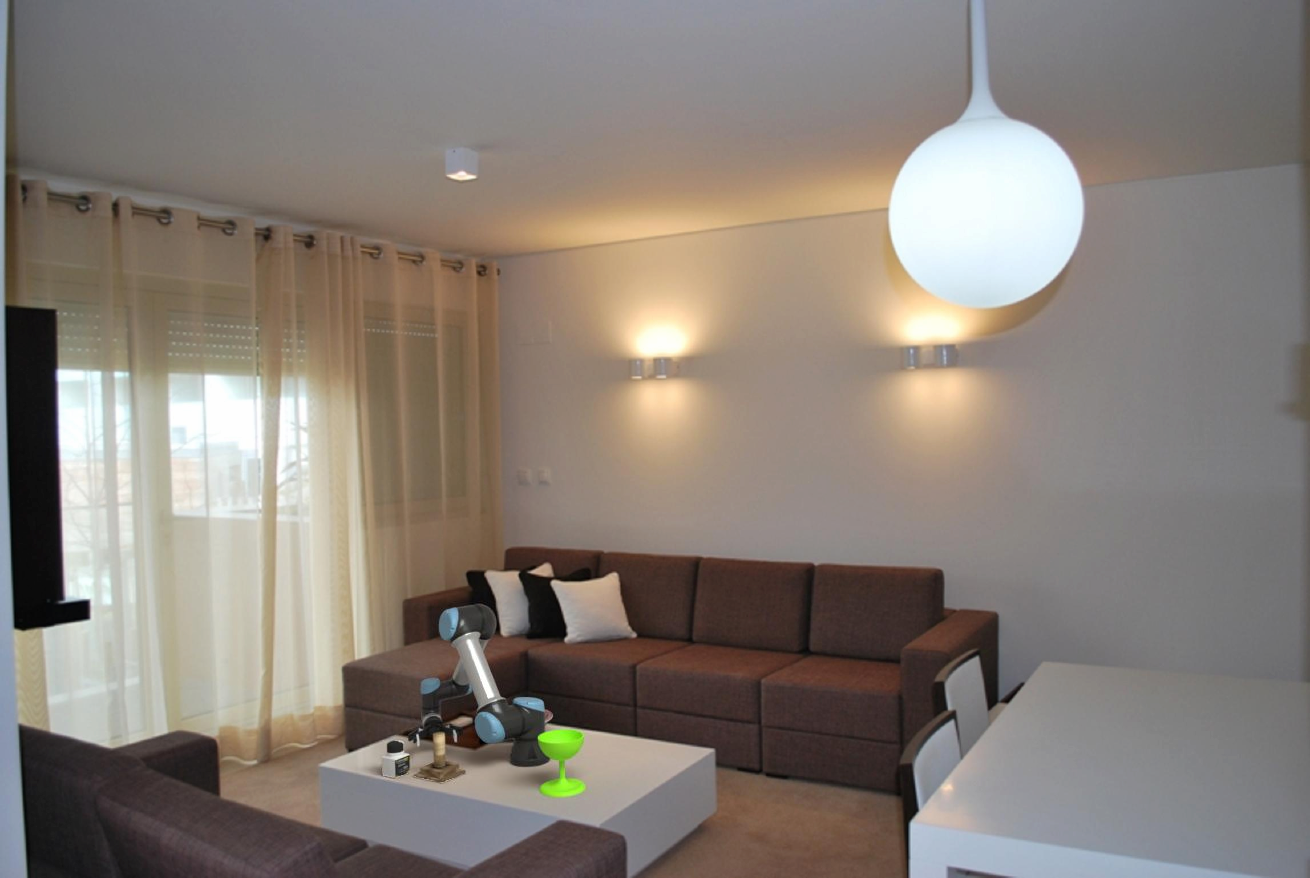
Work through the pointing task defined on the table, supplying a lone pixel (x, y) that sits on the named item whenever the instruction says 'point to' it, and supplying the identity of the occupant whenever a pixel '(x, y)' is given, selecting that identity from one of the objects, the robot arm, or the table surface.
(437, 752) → the oak dowel
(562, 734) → the wineglass
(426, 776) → the brown stepped square base
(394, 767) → the medicine bottle
